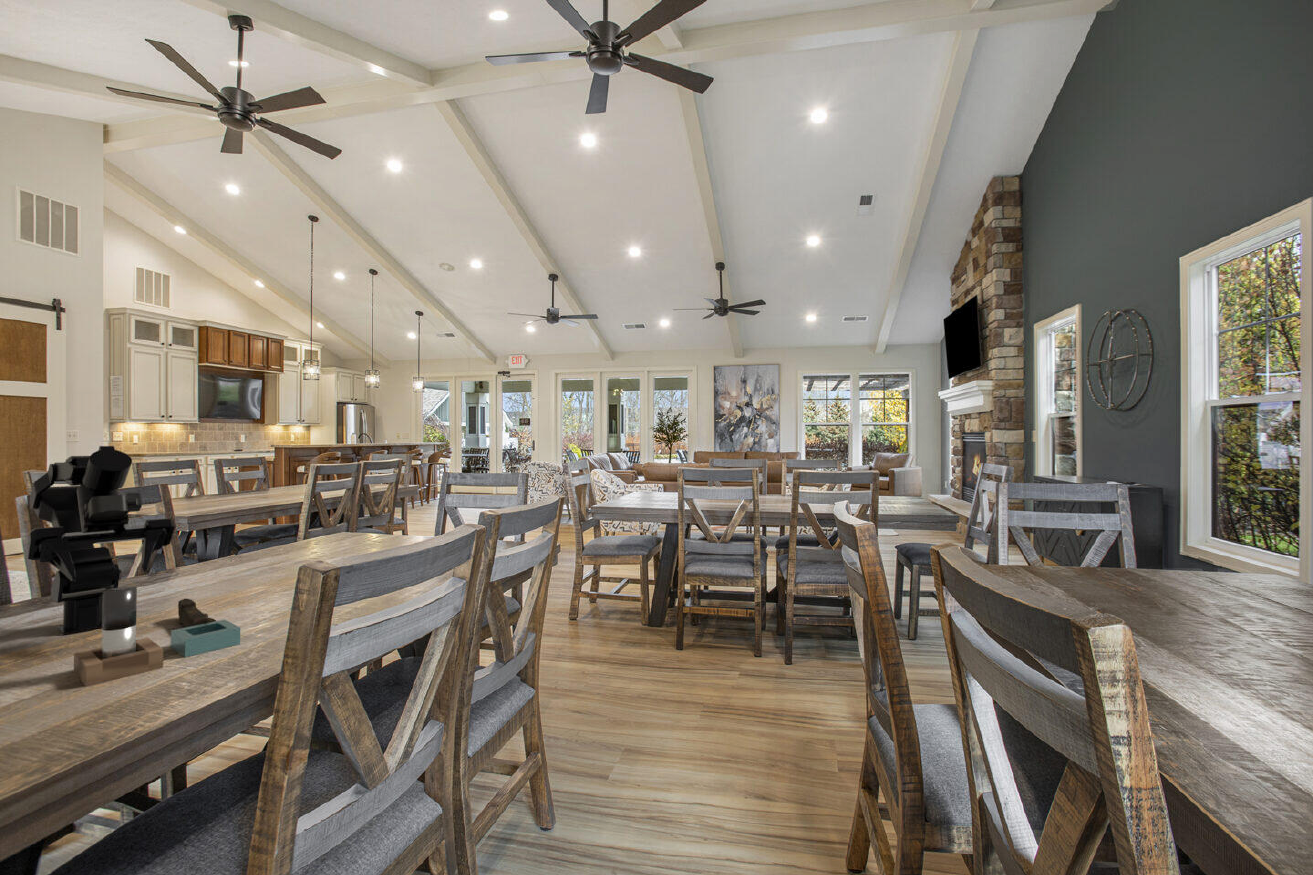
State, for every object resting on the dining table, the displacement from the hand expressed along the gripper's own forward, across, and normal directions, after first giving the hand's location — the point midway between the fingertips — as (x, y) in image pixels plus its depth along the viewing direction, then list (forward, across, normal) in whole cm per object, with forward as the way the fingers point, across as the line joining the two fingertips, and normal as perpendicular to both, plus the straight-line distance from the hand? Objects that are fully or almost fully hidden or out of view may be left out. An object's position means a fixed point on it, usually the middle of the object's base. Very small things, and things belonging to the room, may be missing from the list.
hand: (111, 574), depth 99 cm
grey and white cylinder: (+18, 0, +1) cm, 18 cm away
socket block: (+16, +11, +3) cm, 20 cm away
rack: (+18, -1, +1) cm, 18 cm away
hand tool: (+6, +12, +14) cm, 19 cm away
